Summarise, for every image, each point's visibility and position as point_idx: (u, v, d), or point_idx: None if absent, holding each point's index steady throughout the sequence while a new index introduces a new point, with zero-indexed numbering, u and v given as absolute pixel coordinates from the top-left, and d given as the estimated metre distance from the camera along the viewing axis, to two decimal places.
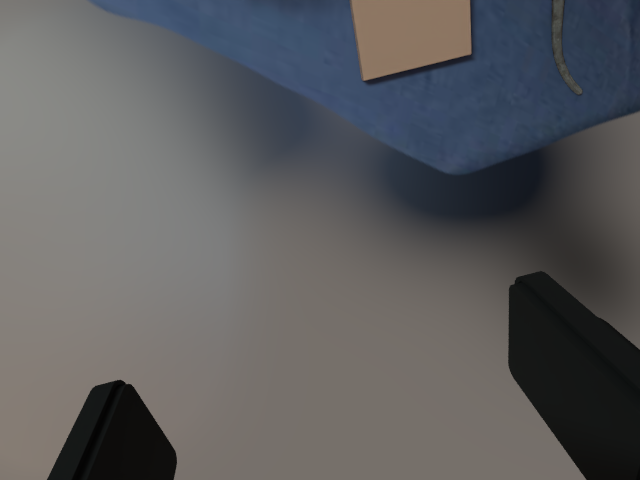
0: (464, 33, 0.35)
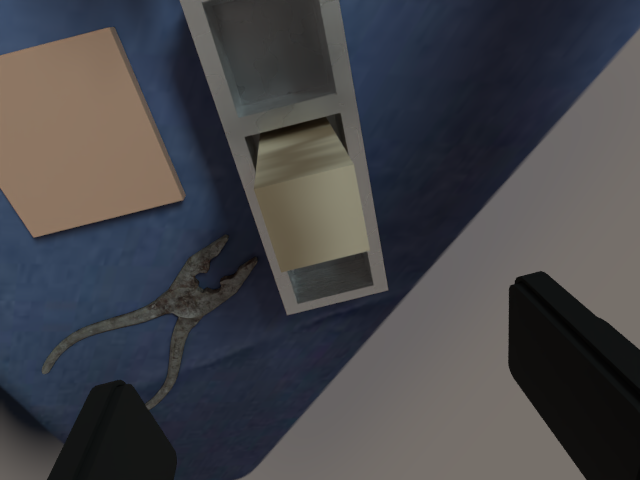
0: (56, 223, 0.25)
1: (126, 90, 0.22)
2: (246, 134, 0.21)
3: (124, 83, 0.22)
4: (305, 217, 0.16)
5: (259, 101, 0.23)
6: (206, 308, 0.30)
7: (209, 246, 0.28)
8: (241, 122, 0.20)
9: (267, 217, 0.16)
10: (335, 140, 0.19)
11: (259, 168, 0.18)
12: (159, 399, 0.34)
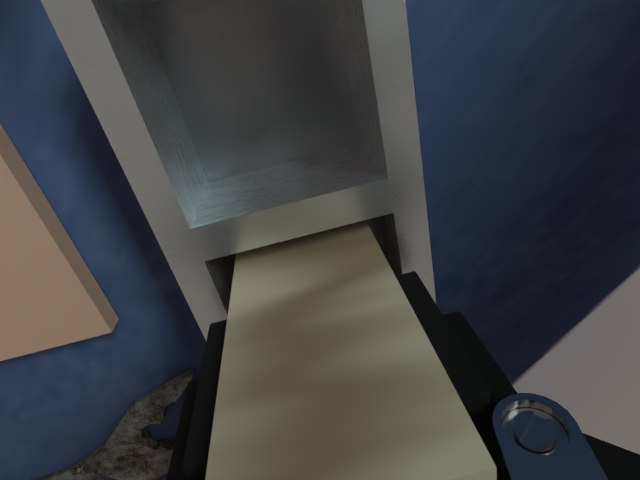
0: None
1: None
2: (208, 257, 0.10)
3: None
4: None
5: (237, 175, 0.13)
6: (163, 468, 0.20)
7: (163, 387, 0.17)
8: (197, 236, 0.10)
9: None
10: (398, 297, 0.08)
11: (225, 390, 0.07)
12: None
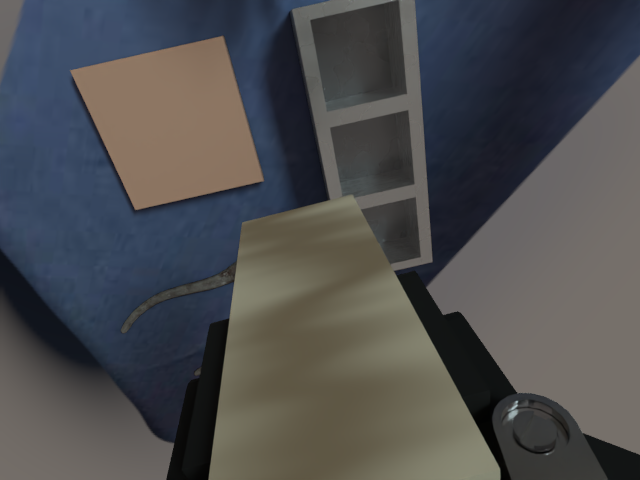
0: (155, 198, 0.30)
1: (229, 87, 0.27)
2: (331, 125, 0.26)
3: (228, 81, 0.27)
4: None
5: (335, 99, 0.28)
6: None
7: None
8: (329, 115, 0.25)
9: None
10: (400, 299, 0.08)
11: (228, 392, 0.07)
12: None
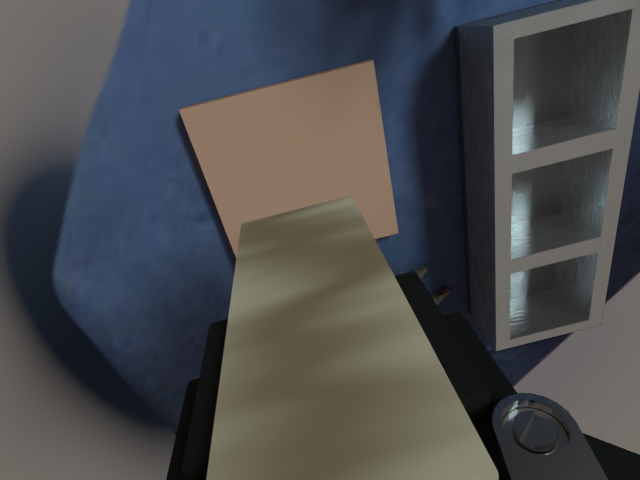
0: None
1: (372, 123, 0.21)
2: (515, 171, 0.20)
3: (372, 116, 0.21)
4: None
5: None
6: None
7: None
8: (513, 159, 0.20)
9: None
10: (398, 301, 0.08)
11: (225, 394, 0.07)
12: None
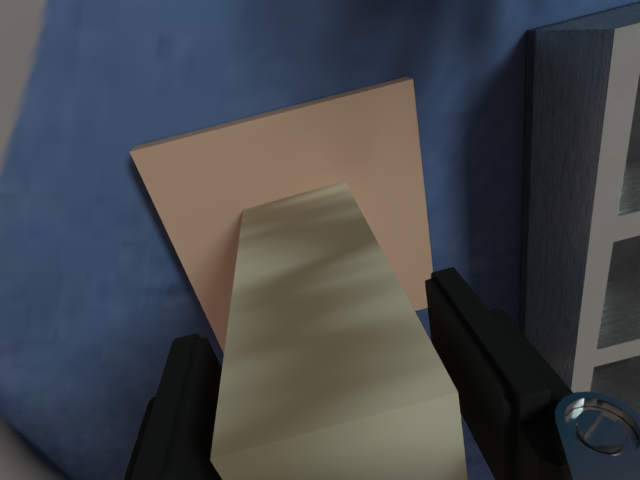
0: None
1: (408, 166, 0.15)
2: (618, 238, 0.14)
3: (408, 157, 0.15)
4: None
5: None
6: None
7: None
8: (618, 222, 0.13)
9: None
10: (383, 268, 0.09)
11: (231, 347, 0.08)
12: None
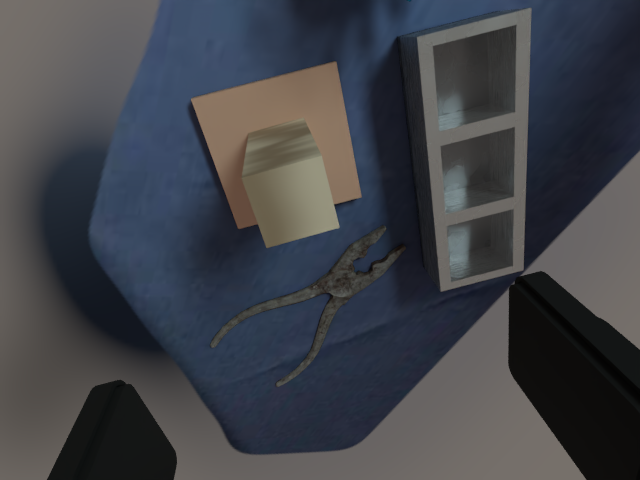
0: None
1: (337, 109, 0.28)
2: (442, 144, 0.27)
3: (337, 104, 0.28)
4: (284, 201, 0.20)
5: None
6: (357, 288, 0.36)
7: (369, 235, 0.33)
8: (440, 134, 0.26)
9: (253, 201, 0.20)
10: (310, 138, 0.22)
11: (246, 162, 0.21)
12: (301, 370, 0.39)
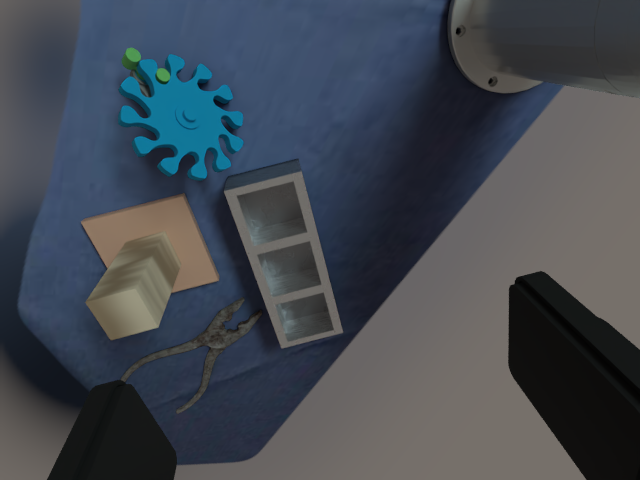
0: None
1: (189, 225, 0.39)
2: (258, 253, 0.38)
3: (188, 221, 0.39)
4: (117, 313, 0.31)
5: (264, 227, 0.40)
6: (228, 342, 0.47)
7: (232, 304, 0.45)
8: (255, 247, 0.37)
9: (96, 314, 0.31)
10: (146, 263, 0.34)
11: (99, 283, 0.32)
12: (194, 401, 0.51)
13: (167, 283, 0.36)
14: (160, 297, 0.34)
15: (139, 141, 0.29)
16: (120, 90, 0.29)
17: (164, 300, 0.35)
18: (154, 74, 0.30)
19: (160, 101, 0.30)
